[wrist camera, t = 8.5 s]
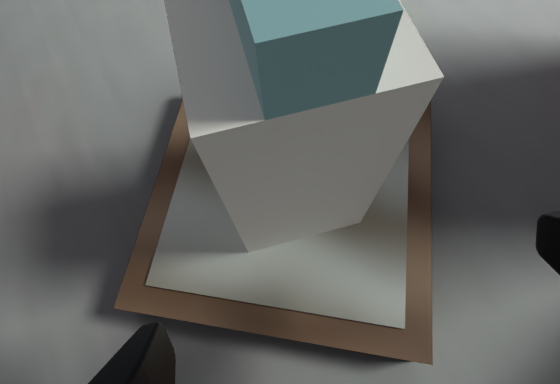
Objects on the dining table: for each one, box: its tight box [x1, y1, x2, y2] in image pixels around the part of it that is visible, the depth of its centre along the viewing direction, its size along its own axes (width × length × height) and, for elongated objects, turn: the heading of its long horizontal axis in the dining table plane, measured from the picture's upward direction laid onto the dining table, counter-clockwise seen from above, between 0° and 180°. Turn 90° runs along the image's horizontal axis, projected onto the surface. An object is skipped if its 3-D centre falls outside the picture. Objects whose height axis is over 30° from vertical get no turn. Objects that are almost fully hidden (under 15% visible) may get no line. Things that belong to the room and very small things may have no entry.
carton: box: [164, 0, 444, 253], centre depth 12 cm, size 6×6×12 cm
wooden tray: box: [114, 101, 433, 365], centre depth 19 cm, size 14×14×3 cm
